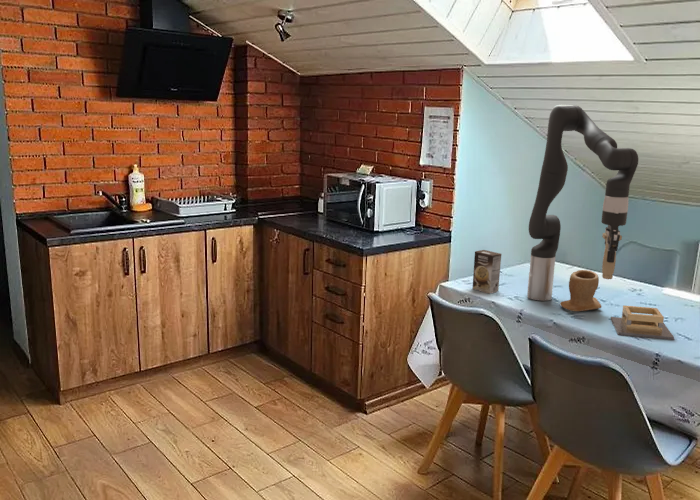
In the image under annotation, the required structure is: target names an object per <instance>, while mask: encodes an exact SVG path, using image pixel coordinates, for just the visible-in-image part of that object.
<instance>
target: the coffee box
mask: <svg viewBox="0 0 700 500" xmlns="http://www.w3.org/2000/svg"><path fill="white" fill-rule="evenodd" d="M501 264H502V253H500V252H495V251H490V250H486V249H481V250H480V249H479V250H476V251H474V259H473V276H472V277H473V278H472V290H475V291H478V290H479V291H478V292H482V293H485V294H489V295H490V293H491V294H494V293H498V292H499V288H500V287H499V286H500V276H501V275H500V274H501ZM497 291H498V292H497Z"/></svg>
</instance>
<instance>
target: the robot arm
mask: <svg viewBox="0 0 700 500" xmlns="http://www.w3.org/2000/svg"><path fill="white" fill-rule="evenodd" d="M547 124H548V125H547V134H546V144H545V149H544V156H543V161H542V166H541V169H540V175H539V182H538V187H537V192H536V197H535V202H534V204H533V208H532V211H531V214H530V217H529V223H528V233H529V236H530V237H531V239H533V240H541V241H540V242H539V243H538V244H536V245H534V246H532V248H531V250H530V260H529V261H530V262H529V264H530V265H529V272H528V282H527V283H528V285H527V293H526V294H527V295H526V296H527V299H530V300H534V301H541V302H543V301H544V302H547V301H551V300H552V299H553V297H552V296H553V290H554V288H553V287H554V277H555V266H556V254H557V251H558V249H559V243H560V237H561V229H562V227H561V226H562V225H561V220H560V219H559V217H558V216H557V215H555V214H548V210H549V208H550V206H551V204H552V202H553V201H554V200H555V199H556V198H557V196H558V195H559V193H560V192H561V191H562V190H563V188H564V187H565V185H566V179H567V177H568V171H569V170H568V168H569V167H568V166H569V165H568V161H567V159H566V156H565V153H564V150H563V146H562V141H563V134H564V132H573V131H574V132H577V133H579V134H580V135H583V140H584V144H585V145H586V147H587V148H588V149H589V150H590V151H591V152H592V153H594V154H595V155H596V156H597V157H598V159H599V160H600V162H601V163H602V166H604V168H606V169H608V170H610V171H617V174H616V175H615V176H613V177H610V178H608V179H607V180H606V185H605V192H604V193H605V194H604V199H603V204H602V213H601V224H603V225H606V226H607V227H605V229H604V230H605V231H604V233H606V235H607V244H608V249H607V250H608V253H607V262H610V263H613V262H614V258H615V252H616V253H617V252H618V250H619V249H618V248H619V244H620V241H619V238H620V235H621V231H620V230H619V227H623V226H625V225H626V224H627V218H628V211H629V194H630V188H631V187H630V185H631V183H632V181H633V178H634V175H635V173H636V171H637V168H638V165H639V154H638V152H637V151H636V150H635V149H633V148H629V147H627V148H623V147H622V148H621V147H619V148H618V143H617V141H616V140H615V139H614V138H613V137H611V136H610V135H609V134H607V133H606V132H604V131H603V130H602V129H600V127H598V125H596V123H595V122H594V121H593V119H592V118H591V117H590V116H589V114H587V113H586V111H585V110H584V109H583V108H582V107H581V106H579V105H577V104H576V105H575V104H558V105H557V104H556V105H555V106H553V107H552V109H551V111H550V113H549V117H548V123H547ZM609 236H610V238H611V239H610V241H609ZM612 245H614V247H611V246H612ZM605 246H606V240H605V239H604V247H605Z"/></svg>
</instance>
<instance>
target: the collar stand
mask: <svg viewBox="0 0 700 500" xmlns="http://www.w3.org/2000/svg"><path fill="white" fill-rule="evenodd" d="M664 319H665V317H664V316H663V314H662V313H661V311H660V309H658V308H656V307H647V306H633V305H622V311H621V317H619V316H617V317H616V316H610V322H611V324H612V325H613V328H614V329H615V332H616V334H617V335H618V336H626V337H637V338H648V339H660V340H668V341H669V340H670V341H674V340H675V336H674V335H673V333H672V332H671V331H670V330H669V328H668V327H667V326H666V323H665V322H664Z"/></svg>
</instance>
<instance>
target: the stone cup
mask: <svg viewBox="0 0 700 500" xmlns="http://www.w3.org/2000/svg"><path fill="white" fill-rule="evenodd" d="M599 279H600V278H599V275H598V274H597V273H596V272H594V271H592V270H588V269H580V270H576V271H574V272H572V273H571V275H570V277H569V281H568V289H569V295H570V297H569V299H568V300H567V299H566V300H562V301H561V302H559V304H560V306H561V307H562V308H564V309H566V310H568V311H571V312H587V311H592V310H598V309H601V308H602V304H601V303H600V301H599V300H598V299H597V298H596V297H594V296H595V295H596V292H597V289H598V287H599V282H600V280H599Z"/></svg>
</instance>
